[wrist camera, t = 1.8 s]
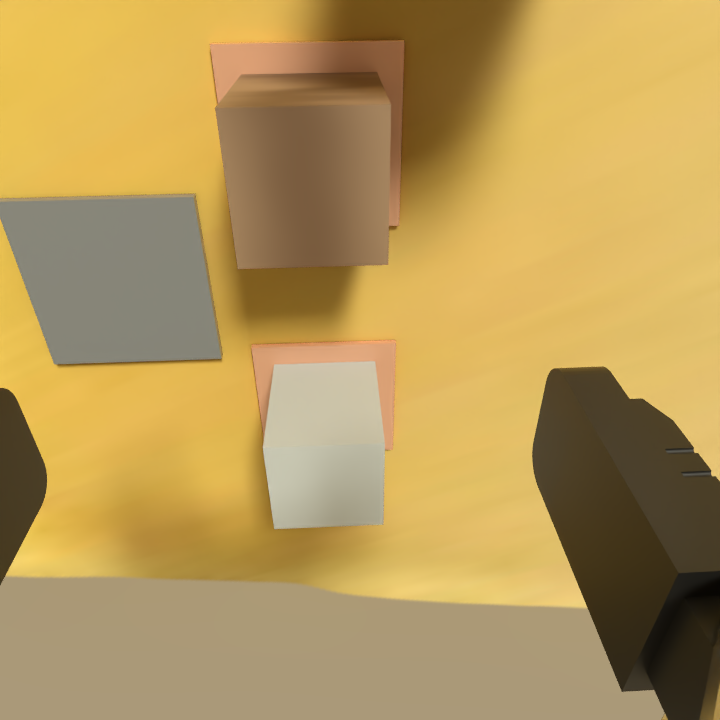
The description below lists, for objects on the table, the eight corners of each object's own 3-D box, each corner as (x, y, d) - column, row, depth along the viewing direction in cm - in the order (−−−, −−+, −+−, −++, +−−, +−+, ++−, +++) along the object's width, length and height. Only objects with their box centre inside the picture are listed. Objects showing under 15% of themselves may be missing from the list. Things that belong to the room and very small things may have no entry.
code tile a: (403, 40, 21) (404, 40, 21) (398, 223, 25) (399, 225, 25) (211, 43, 21) (209, 44, 21) (236, 227, 25) (235, 230, 25)
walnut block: (376, 71, 22) (391, 104, 17) (375, 203, 24) (388, 264, 20) (241, 74, 22) (215, 107, 17) (256, 206, 24) (237, 269, 19)
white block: (375, 361, 29) (384, 443, 24) (374, 436, 32) (383, 524, 27) (274, 364, 29) (262, 448, 24) (282, 440, 32) (274, 529, 27)
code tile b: (395, 340, 29) (395, 343, 28) (392, 445, 33) (392, 449, 32) (252, 344, 29) (251, 348, 28) (266, 450, 32) (266, 454, 32)
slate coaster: (195, 193, 24) (193, 197, 24) (222, 354, 29) (221, 358, 28) (-2, 198, 24) (-6, 201, 24) (57, 359, 28) (54, 364, 28)
